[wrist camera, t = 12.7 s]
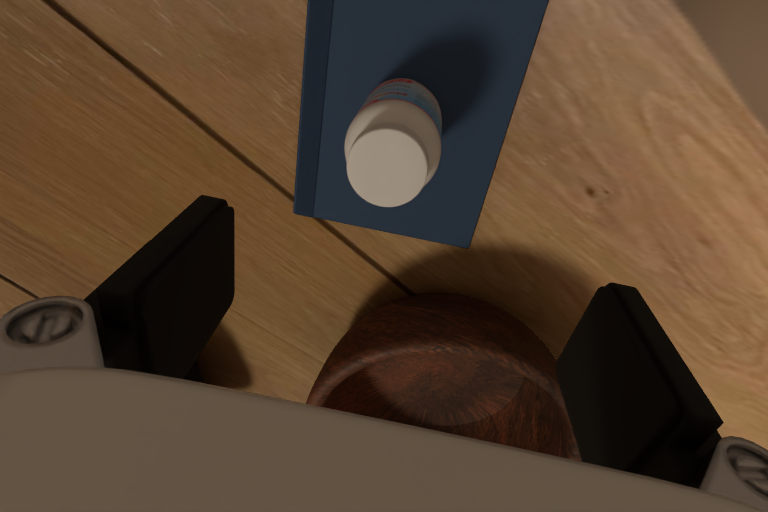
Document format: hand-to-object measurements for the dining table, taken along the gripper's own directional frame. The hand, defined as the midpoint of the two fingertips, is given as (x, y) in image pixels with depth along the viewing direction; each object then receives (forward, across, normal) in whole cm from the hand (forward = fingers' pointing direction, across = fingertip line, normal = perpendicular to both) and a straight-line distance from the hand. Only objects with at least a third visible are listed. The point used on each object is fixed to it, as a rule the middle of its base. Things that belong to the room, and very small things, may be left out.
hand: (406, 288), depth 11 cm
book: (+26, +1, +3) cm, 26 cm away
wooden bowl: (+25, -8, +28) cm, 38 cm away
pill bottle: (+25, +1, +3) cm, 26 cm away
